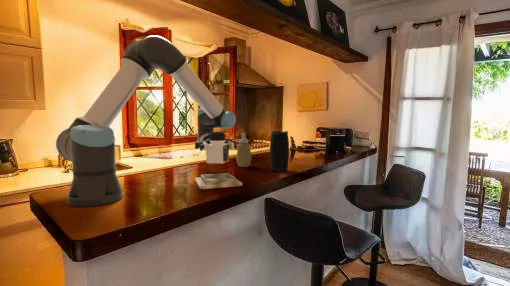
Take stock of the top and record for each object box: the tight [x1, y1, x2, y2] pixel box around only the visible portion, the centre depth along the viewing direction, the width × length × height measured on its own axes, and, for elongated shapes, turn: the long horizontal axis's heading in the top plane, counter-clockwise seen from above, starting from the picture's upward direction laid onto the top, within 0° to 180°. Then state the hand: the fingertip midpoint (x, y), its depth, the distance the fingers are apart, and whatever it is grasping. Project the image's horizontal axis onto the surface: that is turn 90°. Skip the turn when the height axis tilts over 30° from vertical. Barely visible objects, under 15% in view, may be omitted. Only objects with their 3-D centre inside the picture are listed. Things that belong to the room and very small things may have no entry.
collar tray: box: [194, 172, 243, 190], centre depth 111 cm, size 16×16×2 cm
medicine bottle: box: [205, 131, 230, 164], centre depth 110 cm, size 7×7×12 cm
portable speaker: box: [269, 130, 290, 173], centre depth 135 cm, size 9×9×20 cm
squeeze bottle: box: [236, 132, 252, 168], centre depth 147 cm, size 8×8×18 cm
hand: (220, 146), depth 105 cm, fingers closed on medicine bottle, 9 cm apart
